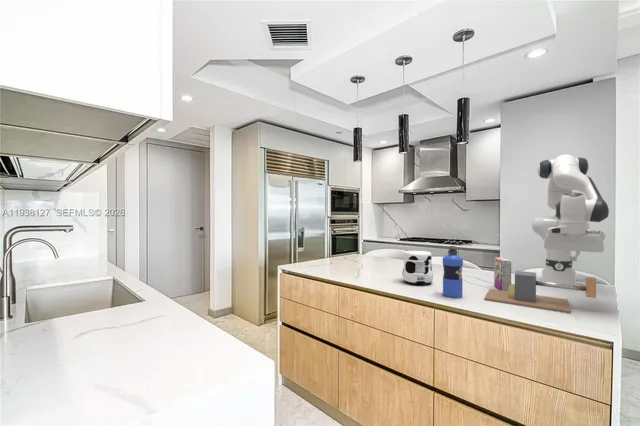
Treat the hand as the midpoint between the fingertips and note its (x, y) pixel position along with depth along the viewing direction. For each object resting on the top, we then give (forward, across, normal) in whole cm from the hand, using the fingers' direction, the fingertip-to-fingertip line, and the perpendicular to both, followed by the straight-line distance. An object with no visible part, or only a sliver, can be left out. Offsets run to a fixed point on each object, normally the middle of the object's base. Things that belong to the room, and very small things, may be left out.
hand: (572, 260), depth 134 cm
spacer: (+20, +22, +1) cm, 30 cm away
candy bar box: (+21, +28, -16) cm, 39 cm away
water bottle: (+20, +47, +12) cm, 53 cm away
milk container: (+21, +70, -4) cm, 73 cm away
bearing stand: (+21, +17, +1) cm, 27 cm away
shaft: (+15, +5, +1) cm, 15 cm away
